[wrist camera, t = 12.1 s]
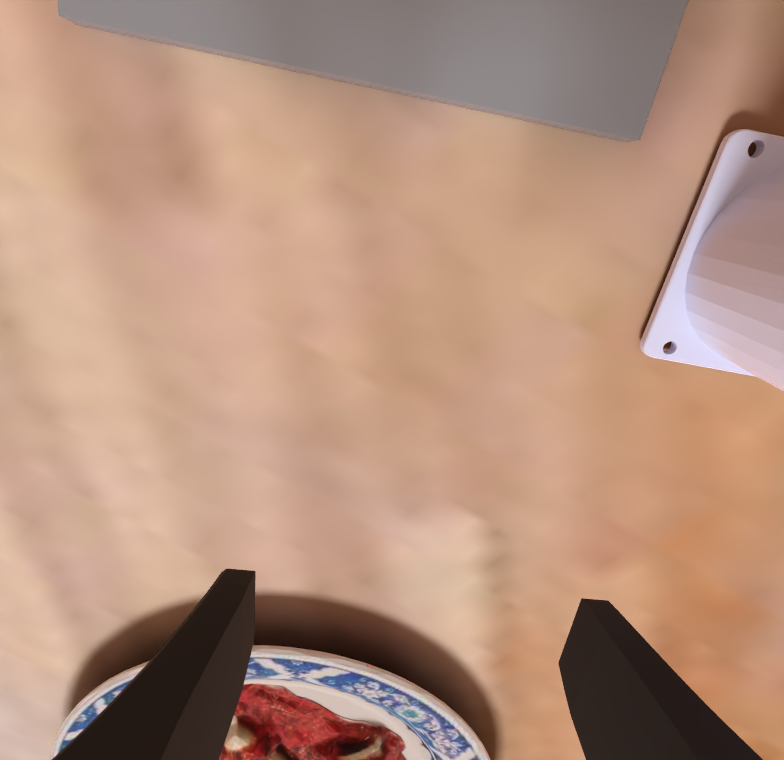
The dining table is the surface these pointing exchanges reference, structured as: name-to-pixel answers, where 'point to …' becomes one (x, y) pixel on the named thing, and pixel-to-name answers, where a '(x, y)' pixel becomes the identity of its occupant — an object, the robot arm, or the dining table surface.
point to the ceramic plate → (318, 712)
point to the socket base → (437, 49)
